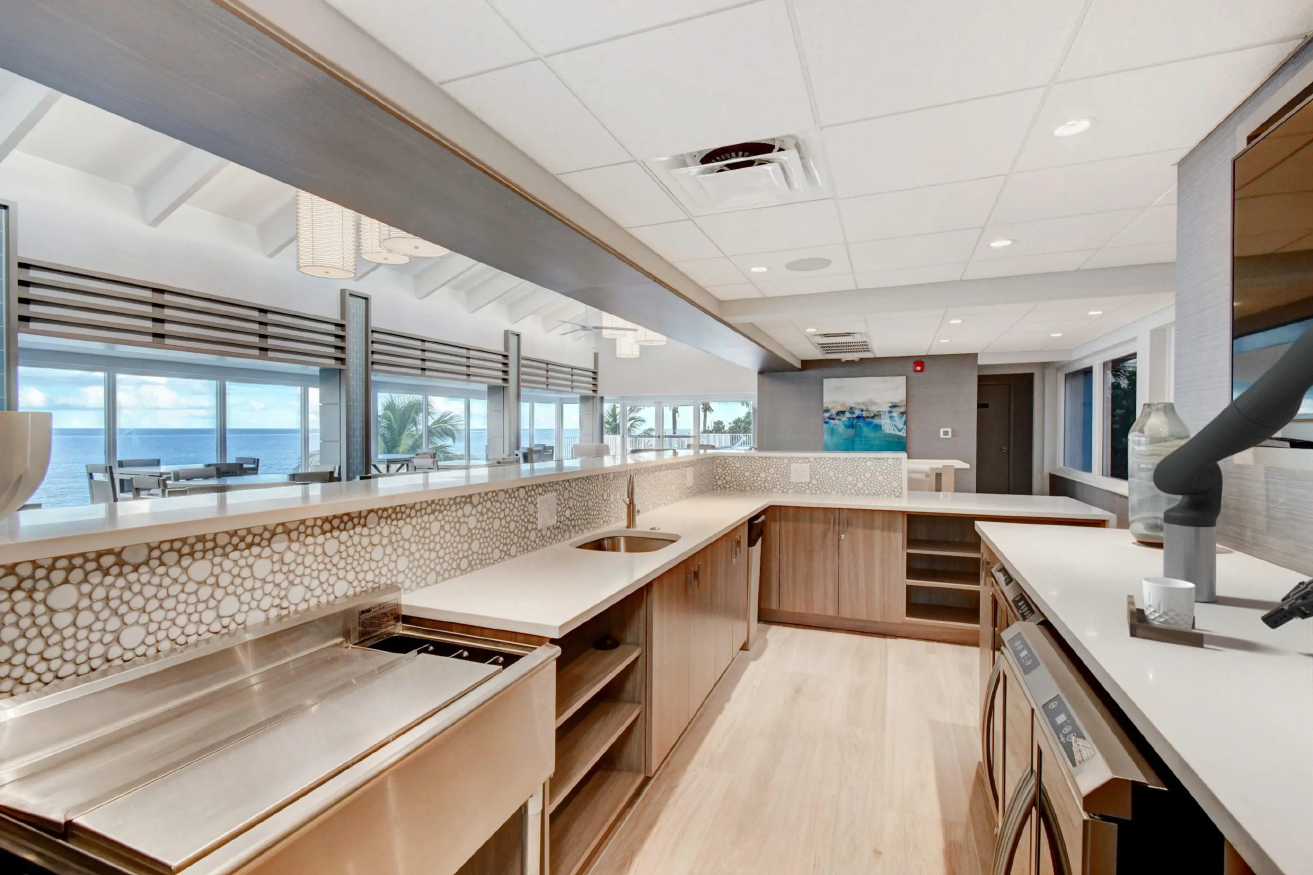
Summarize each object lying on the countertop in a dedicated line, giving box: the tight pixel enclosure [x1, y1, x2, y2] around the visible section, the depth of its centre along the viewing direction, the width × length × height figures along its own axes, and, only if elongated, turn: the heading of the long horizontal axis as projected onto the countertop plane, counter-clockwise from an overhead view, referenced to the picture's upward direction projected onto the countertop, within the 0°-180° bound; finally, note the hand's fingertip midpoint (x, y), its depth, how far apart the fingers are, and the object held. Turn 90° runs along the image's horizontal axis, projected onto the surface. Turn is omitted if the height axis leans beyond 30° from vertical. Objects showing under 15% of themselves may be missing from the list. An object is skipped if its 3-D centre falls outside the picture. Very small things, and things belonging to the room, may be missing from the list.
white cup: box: [1141, 576, 1196, 631], centre depth 115 cm, size 8×8×10 cm
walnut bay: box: [1126, 594, 1205, 649], centre depth 115 cm, size 13×10×5 cm
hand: (1266, 623), depth 107 cm, fingers closed
